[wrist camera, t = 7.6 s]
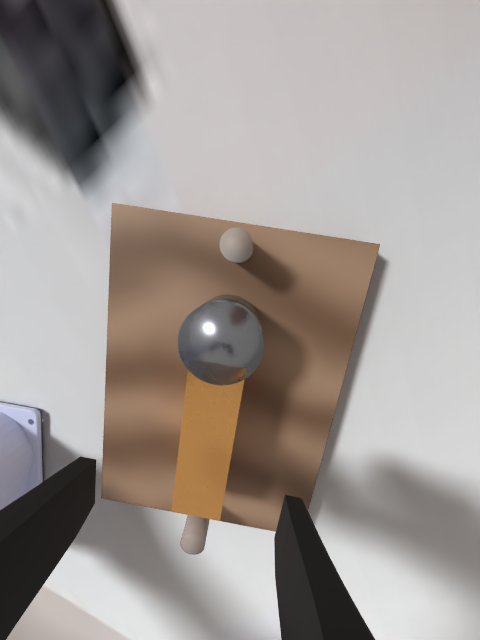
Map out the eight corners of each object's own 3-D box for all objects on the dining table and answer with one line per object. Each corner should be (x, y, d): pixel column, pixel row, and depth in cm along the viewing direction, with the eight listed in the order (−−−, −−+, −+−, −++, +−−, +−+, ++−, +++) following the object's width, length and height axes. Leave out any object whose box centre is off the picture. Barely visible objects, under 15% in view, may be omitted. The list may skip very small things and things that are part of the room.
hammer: (235, 474, 18) (231, 523, 15) (178, 464, 18) (159, 509, 15) (267, 300, 15) (271, 310, 12) (198, 289, 15) (182, 295, 12)
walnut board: (297, 516, 20) (309, 585, 16) (112, 481, 21) (73, 539, 16) (368, 246, 16) (412, 238, 11) (125, 208, 16) (75, 186, 12)
